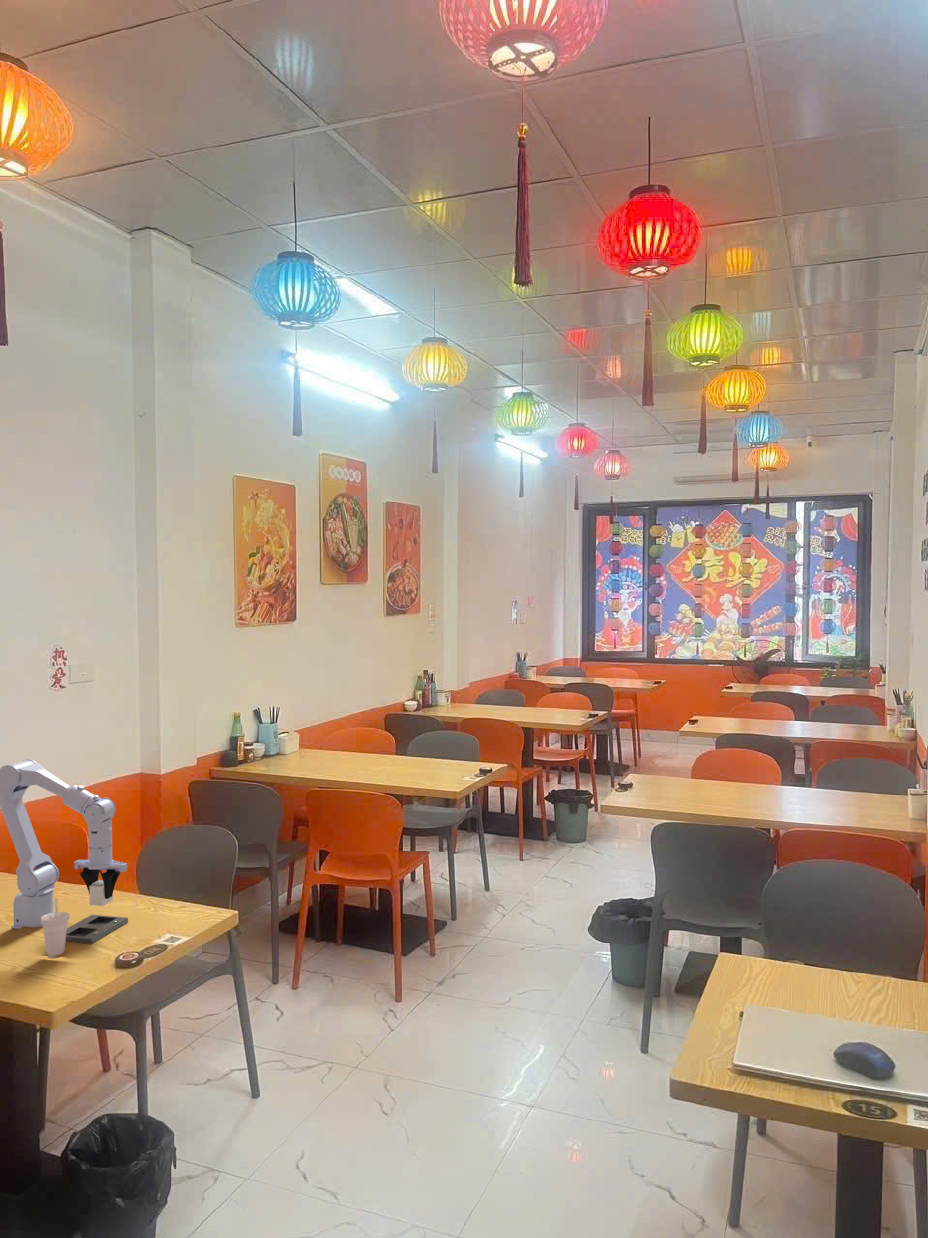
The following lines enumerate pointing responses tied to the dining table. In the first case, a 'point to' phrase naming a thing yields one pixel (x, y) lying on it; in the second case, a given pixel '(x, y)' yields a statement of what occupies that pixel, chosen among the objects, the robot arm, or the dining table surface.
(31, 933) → the dining table surface
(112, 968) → the dining table surface
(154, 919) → the dining table surface
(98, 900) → the beige rectangular block
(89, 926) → the panel
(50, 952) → the smoothie
